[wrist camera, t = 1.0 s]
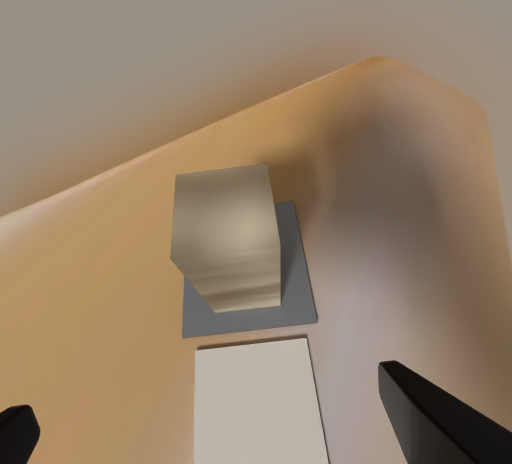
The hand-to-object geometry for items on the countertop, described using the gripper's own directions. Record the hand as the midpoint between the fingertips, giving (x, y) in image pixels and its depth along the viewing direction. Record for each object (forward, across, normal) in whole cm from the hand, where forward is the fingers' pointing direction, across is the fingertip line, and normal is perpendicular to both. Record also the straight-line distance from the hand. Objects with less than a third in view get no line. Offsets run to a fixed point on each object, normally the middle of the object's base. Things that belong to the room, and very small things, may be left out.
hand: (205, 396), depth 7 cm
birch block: (+15, 0, +3) cm, 15 cm away
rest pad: (+9, 0, +10) cm, 13 cm away
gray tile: (+16, 0, +2) cm, 16 cm away
